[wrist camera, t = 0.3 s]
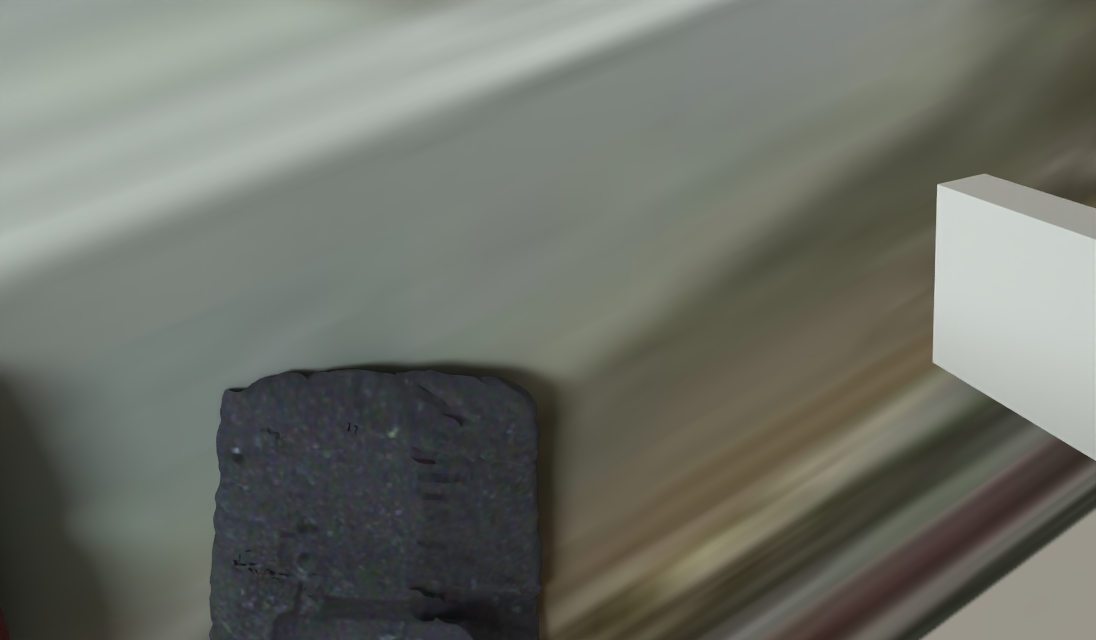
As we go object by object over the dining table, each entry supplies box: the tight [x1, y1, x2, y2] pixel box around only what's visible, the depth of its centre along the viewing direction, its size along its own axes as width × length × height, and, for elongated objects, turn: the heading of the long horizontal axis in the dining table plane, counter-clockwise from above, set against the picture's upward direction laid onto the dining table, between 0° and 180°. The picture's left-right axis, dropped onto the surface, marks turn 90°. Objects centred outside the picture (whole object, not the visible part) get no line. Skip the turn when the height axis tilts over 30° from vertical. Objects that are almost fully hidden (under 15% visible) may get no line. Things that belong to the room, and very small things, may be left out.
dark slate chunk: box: [209, 369, 542, 640], centre depth 42 cm, size 15×22×5 cm
